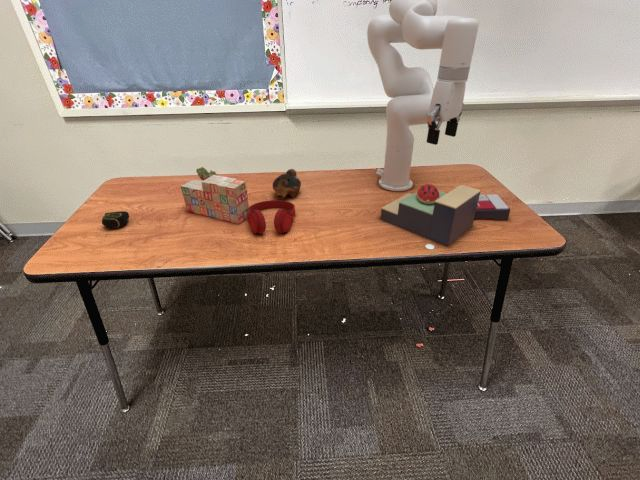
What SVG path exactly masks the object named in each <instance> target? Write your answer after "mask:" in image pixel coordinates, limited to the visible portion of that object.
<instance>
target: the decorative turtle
mask: <svg viewBox="0 0 640 480" xmlns="http://www.w3.org/2000/svg"><path fill="white" fill-rule="evenodd" d="M301 186H302V182H301V180H300V179H299V177H297V171H296V170H295V169H294V168H290V169H288V170H287V171H286V172H285V173H283V174H280V175H278V176H277V177H276V178H275V179H274V180H273V182H272V189H273V190H274V191H275V196H276V198H277V199H278V200H284V199H285V198H286V197H287V196H289V197H290V198H292V199H294V198H295V197H296V196H297V194H298V193H299V192H300V189H301Z"/></svg>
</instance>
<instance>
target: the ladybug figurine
mask: <svg viewBox="0 0 640 480" xmlns="http://www.w3.org/2000/svg"><path fill="white" fill-rule="evenodd" d="M439 191H440V190H438V188H437V187H436V186H435V185H433V184H431V183H425V184H422V186H420V187H419V189H418V190H417V191H416V192H417V195H416V196H417V199H418V200H419V201H420V202H422V203H425V204H434V203H435V201H436V200H437V199H439V198H440V195H439Z"/></svg>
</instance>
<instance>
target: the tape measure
mask: <svg viewBox="0 0 640 480" xmlns="http://www.w3.org/2000/svg"><path fill="white" fill-rule="evenodd" d="M129 219H130V214H129V212H128V211H123V210H121V211H112V212H105V213H104V214H103V216H102V219H101V224H102V225H103V226H104V227H105V228H106V229H117V228H121V227H124V226H125V225H127V224H128V222H129Z"/></svg>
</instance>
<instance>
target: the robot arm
mask: <svg viewBox="0 0 640 480" xmlns="http://www.w3.org/2000/svg"><path fill="white" fill-rule="evenodd" d="M437 11H438V0H391V1H390V3H389V6H388V12H389V13H388V14H380V15H377V16H374V17H373V18H372V19H370V21H369V23H368V25H367V30H366V36H367V43H368V48H369V51H370V54H371V56H372V57H373V59H374V62H375V64H376V65H377V68H378V72H379V76H380V81H381V83H382V88H383V90H384V93H385V95H386V96H387V97H388V98H391V99H389V100H388V102H387V104H386V108H385V117H386V140H385V141H386V142H385V153H384V165H383V168H380V167H378V168H377V169H376V172H375V175H376V176H380V178H379V180H378V186H379V187H380V188H382V189H384V190H387V191H391V192H404V191H409V190H411V189H412V188H413V185H414V183H413V182H414V181H412V180H411V179H410V175H411V167H412V159H413V152H414V151H413V150H414V144H415V137H414V134H413V132H412V131H411V129H410V126H415V125H426V124H427V135H426V143H428V144H430V145H434V146H436V145H438V144H439V139H440V134H441V130H440V128H441V126H442V124H443V122H444V123H445V122H446V125H445V131H444V135H445V136H449V137H453V138H454V137H456V136H457V131H458V127H459V123H460V120H461V118H460V117H461V115H462V111H463V110H464V107H465V103H464V100H465V99H464V98H465V94H466V93H465V92H466V86H467V85H466V84H467V82H468V81H469V80H468V79H469V75H470V69H471V66H472V65H471V64H472V60H473V55H474V50H475V46H476V40H477V36H478V30H479V26H480V25H479V20H478V19H477V18H476V17H475V18H474V17H463V16H461V15H437ZM398 43H399V44H400V43H403V44H404V43H406V44H407V45H409V46H411V48H414V49H415V50H422V51H423V50H424V51H425V50H441V52H440V59H439V66H438V70H437V71H438V72H437V77H436V81H435V84H434V85H433V81H432V79H431V76H430V72H428V70H427V69H426V68H423V67H422V66H421V67H419V66H416V67H415V66H413V67H408V66H406V65H405V64H404V61H403V56H402V55H401V54H400V51H398V50H397V48H395V47H394V46H393V45H392V44H398Z"/></svg>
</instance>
